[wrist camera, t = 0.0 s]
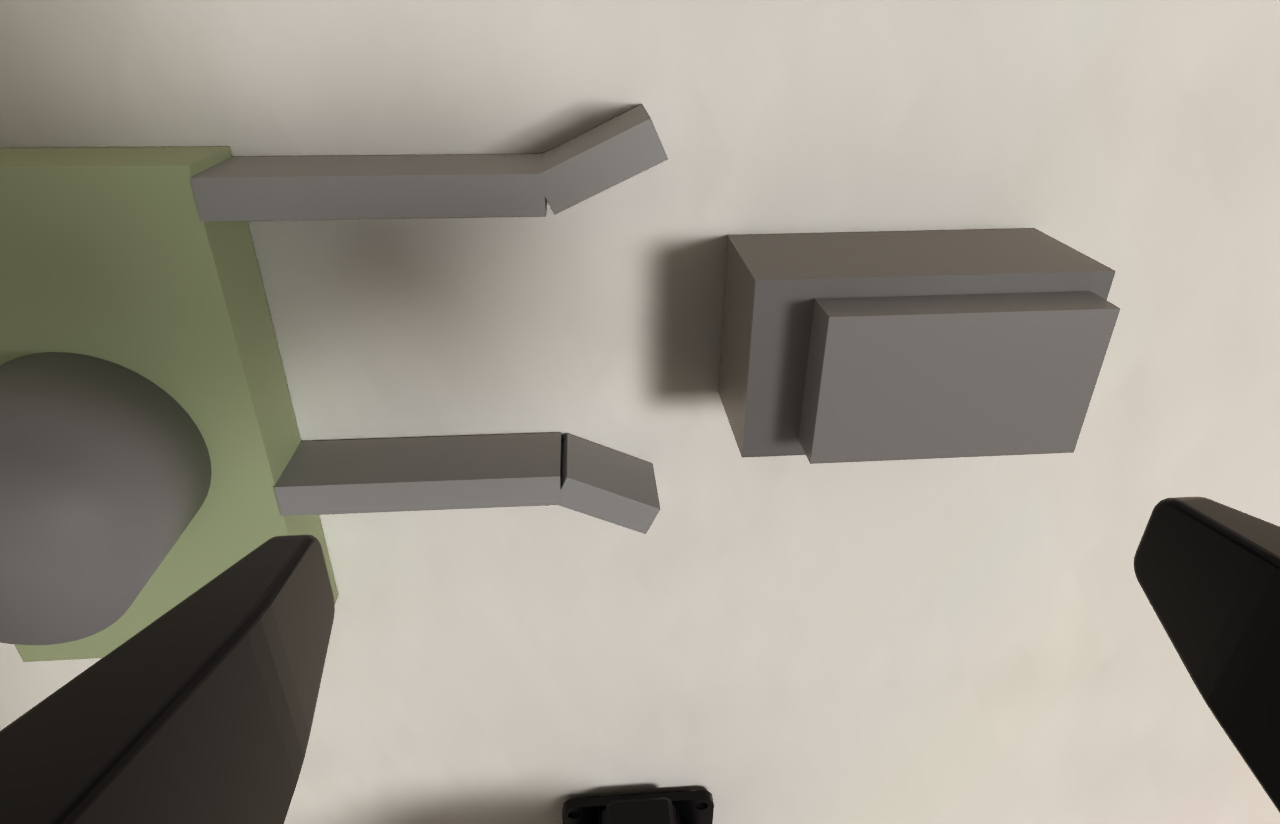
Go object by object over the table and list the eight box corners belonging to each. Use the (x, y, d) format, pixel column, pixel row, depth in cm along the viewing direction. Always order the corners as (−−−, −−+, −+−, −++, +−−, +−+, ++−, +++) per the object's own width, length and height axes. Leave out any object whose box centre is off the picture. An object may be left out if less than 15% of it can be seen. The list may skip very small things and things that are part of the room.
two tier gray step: (993, 379, 25) (1086, 467, 20) (717, 389, 24) (750, 482, 20) (1031, 226, 22) (1147, 287, 18) (726, 233, 22) (766, 298, 17)
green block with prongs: (650, 579, 28) (670, 730, 22) (67, 607, 26) (-70, 776, 21) (658, 103, 20) (692, 149, 14) (-170, 107, 18) (-493, 159, 13)
